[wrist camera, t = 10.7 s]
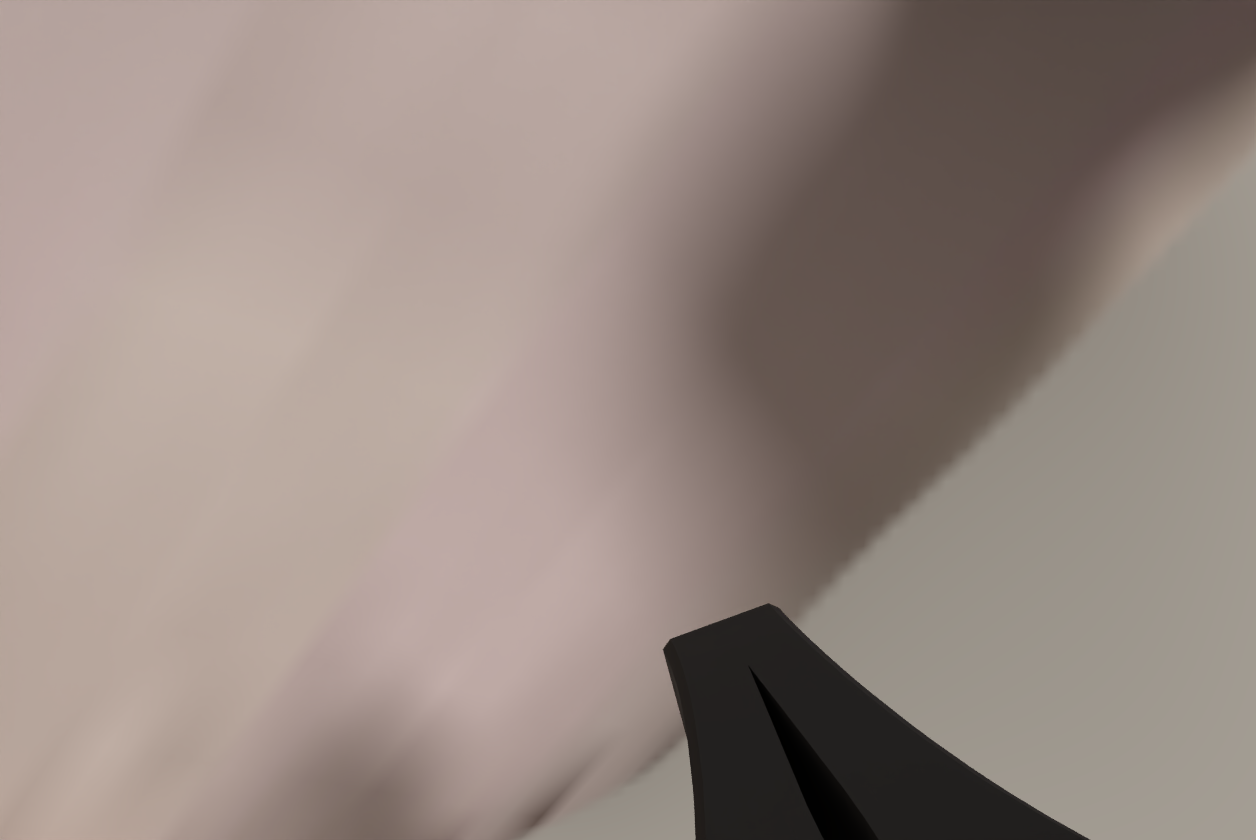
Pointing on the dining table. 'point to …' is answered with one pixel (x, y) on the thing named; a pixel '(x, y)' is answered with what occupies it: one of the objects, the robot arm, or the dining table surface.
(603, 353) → the dining table surface
